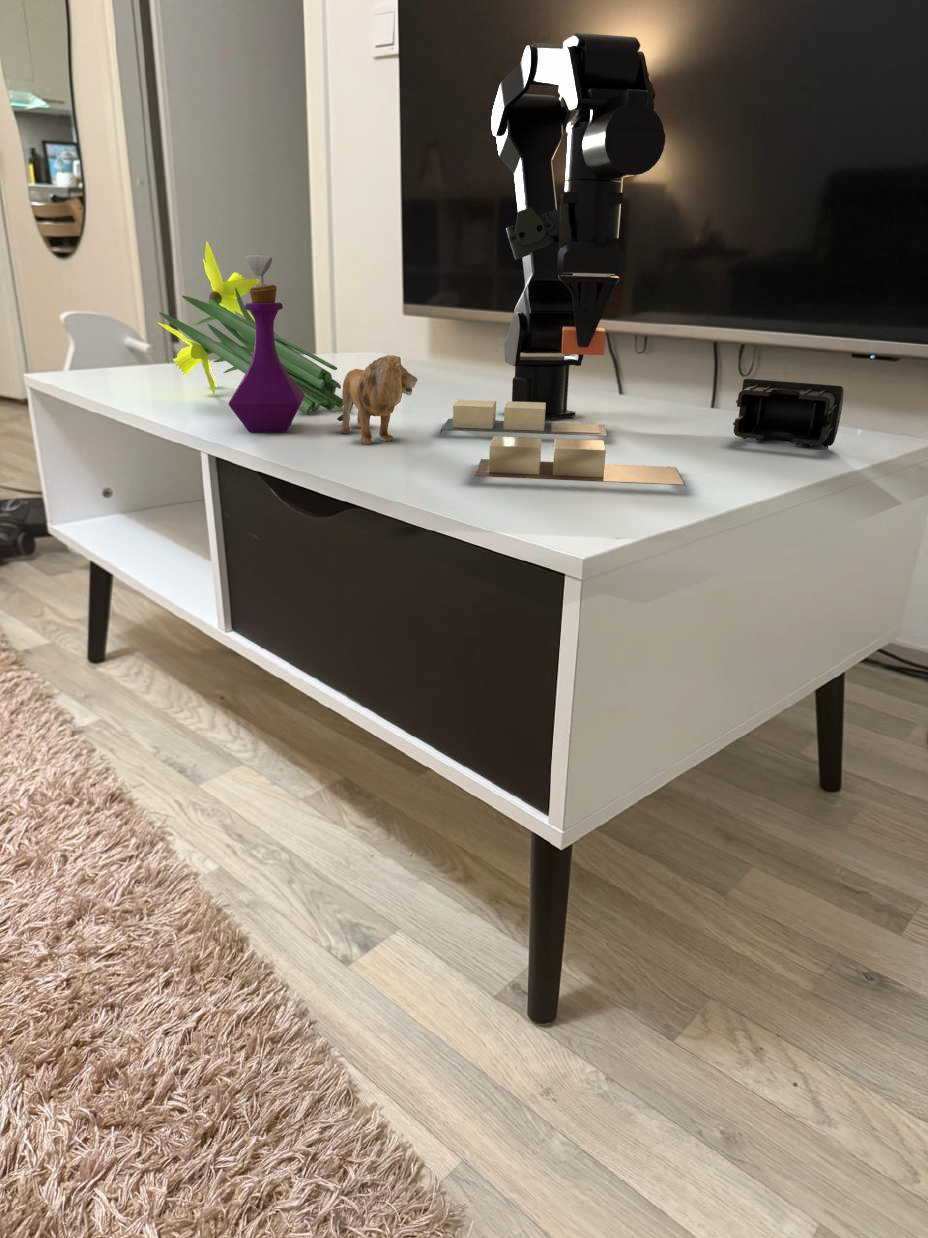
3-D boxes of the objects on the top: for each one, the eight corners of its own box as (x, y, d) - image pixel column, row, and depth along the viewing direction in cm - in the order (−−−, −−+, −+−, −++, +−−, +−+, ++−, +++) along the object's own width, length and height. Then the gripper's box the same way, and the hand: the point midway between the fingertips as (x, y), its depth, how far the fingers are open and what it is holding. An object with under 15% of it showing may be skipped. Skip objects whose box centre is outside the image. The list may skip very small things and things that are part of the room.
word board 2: (473, 484, 78) (474, 447, 77) (480, 467, 85) (481, 432, 84) (684, 493, 77) (688, 456, 76) (675, 475, 83) (678, 440, 82)
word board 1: (440, 436, 98) (440, 406, 97) (447, 425, 105) (448, 397, 104) (606, 443, 97) (609, 412, 96) (604, 431, 103) (606, 402, 102)
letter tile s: (561, 353, 95) (562, 329, 94) (561, 349, 99) (563, 326, 98) (603, 355, 94) (605, 331, 93) (602, 350, 98) (604, 327, 97)
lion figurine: (422, 445, 94) (423, 355, 90) (377, 450, 91) (376, 358, 88) (357, 423, 105) (355, 342, 102) (315, 426, 102) (312, 344, 99)
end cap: (835, 447, 97) (846, 382, 95) (826, 458, 91) (837, 390, 89) (741, 437, 102) (749, 375, 99) (726, 447, 96) (735, 382, 93)
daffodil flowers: (250, 429, 105) (107, 325, 123) (327, 473, 118) (186, 373, 136) (328, 303, 103) (171, 217, 122) (397, 362, 116) (245, 276, 134)
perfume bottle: (240, 422, 104) (228, 253, 97) (306, 422, 105) (298, 255, 98) (230, 434, 97) (216, 254, 90) (300, 435, 98) (292, 255, 91)
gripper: (517, 186, 99) (511, 334, 105) (507, 173, 82) (501, 351, 88) (619, 188, 98) (608, 337, 104) (631, 175, 81) (616, 355, 87)
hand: (582, 344), depth 96 cm, fingers closed on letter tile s, 4 cm apart
